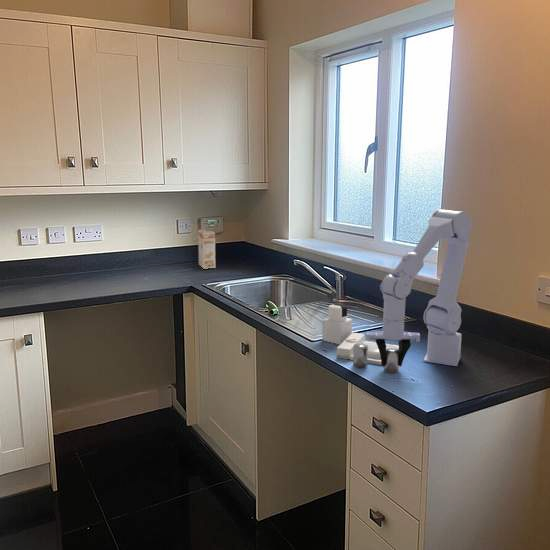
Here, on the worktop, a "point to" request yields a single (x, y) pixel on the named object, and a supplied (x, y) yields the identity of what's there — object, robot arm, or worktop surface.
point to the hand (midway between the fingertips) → (391, 365)
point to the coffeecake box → (206, 248)
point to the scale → (347, 345)
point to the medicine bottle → (336, 324)
